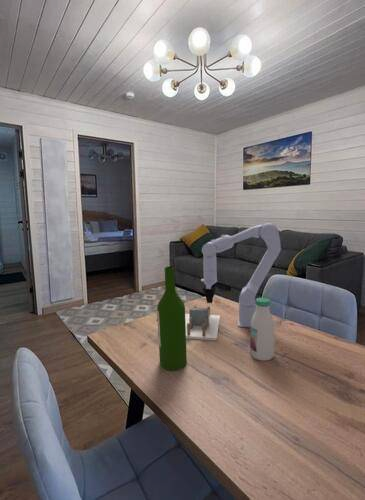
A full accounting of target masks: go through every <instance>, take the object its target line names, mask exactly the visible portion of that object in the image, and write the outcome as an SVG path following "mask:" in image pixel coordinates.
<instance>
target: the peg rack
mask: <svg viewBox="0 0 365 500" xmlns="http://www.w3.org/2000/svg"><path fill="white" fill-rule="evenodd" d="M193 308H198V307H197V305H194V306H193ZM206 308H209V327H207V317H204V324H202V326H193V317H192V316H190V315H189V313H185V323H186V340H189V339H190V340H201V341H214V342H217V341H218V340H217V339H218V334H219V328H220V321H221V315H220V314H219V315H216V314H211V306H207V307H206Z"/></svg>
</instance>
